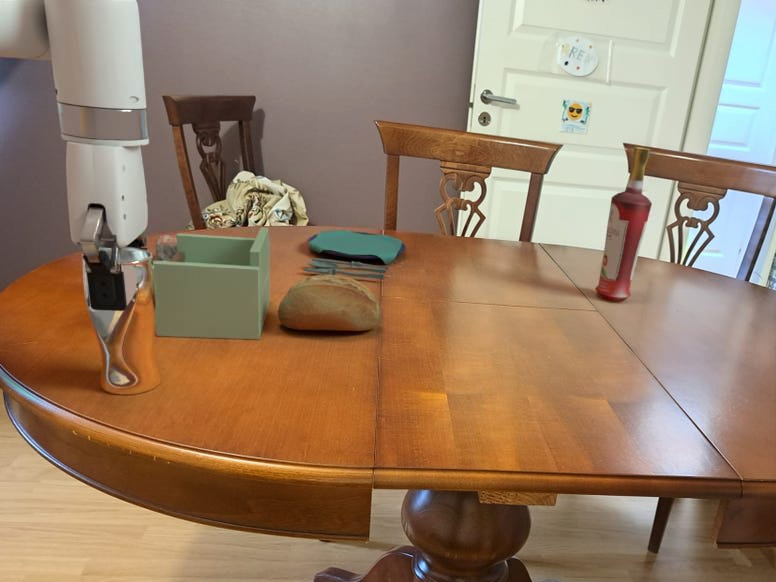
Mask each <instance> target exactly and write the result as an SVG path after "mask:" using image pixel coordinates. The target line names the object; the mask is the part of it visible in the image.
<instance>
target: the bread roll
mask: <svg viewBox="0 0 776 582" xmlns="http://www.w3.org/2000/svg"><path fill="white" fill-rule="evenodd" d="M277 316H278V320H279V322H280V323H281V324H282V325H283V326H285V327H286V328H287V329H292V330H296V331H297V330H298V331H346V332H347V331H351V332H363V331H365V332H366V331H370V330H373V329H375V328H378V326H380V325H381V323H382V321H383V319H384V311H383V308H382V305H381V302H380V300H379V299H378V297H377V296H376V295H375V293H374V292H373V291H372V290H370V289H369V288H368V287H367V286H366V285H364V284H363V283H362V282H360V281H358V280H356V279H354V278H352V277H349V276H344V275H337V274H336V275H328V274H318V275H312V276H311V275H310V276H308V277H306V278H304V279H302V280H300V281H297V282H296V283H295V284H293V285H292V286H291V287H290V288H289V289H288V290H287V292H286V293H285V295H284V297H283V298H282V299H281V301H280V303H279V305H278V310H277Z"/></svg>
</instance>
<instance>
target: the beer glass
mask: <svg viewBox="0 0 776 582" xmlns="http://www.w3.org/2000/svg"><path fill="white" fill-rule="evenodd" d="M141 248H142V247H141ZM141 248H135V247H124V248H121V258H120V268H119V271H120V272H124V281H125V291H126V301H127V308H126V309H125V310H124V311H110V310H94V309H92V308H91V305H90V297H89V289H88V281H87V273H86V271H85V260H84V259H83V255H84V254H83V253H82V254H81V259H82V285H83V294H84V295H83V296H84V300H85V307H86V309H87V314H88V317H89V321H90V324H91V327H92V330H93V333H94V335H95V338H96V341H97V344H98V347H99V350H100V356H101V373H100V382H99V383H100V388H101V389H102V390H103V391H105V392H107V393H110V394H113V395H122V396H124V395H125V396H127V395H136V394H137V395H138V394H142V393H145V392H148V391H151V390H153V389H155V388H156V387H158V386H159V385H160V383H161V380H162V378H161V374H160V373H161V372H160V370H159V367H158V364H157V360H156V356H155V355H156V353H155V342H156V334H157V333H156V325H157V316H158V288H157V280H156V274H155V268H154V263H153V261H154V255H153V252H151V251H150V250H148V249H147V250H145V249H141ZM101 251H106V253H107V254H108V256H109V258H110V260H111V251H112V250H101Z"/></svg>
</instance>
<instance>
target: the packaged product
mask: <svg viewBox="0 0 776 582" xmlns="http://www.w3.org/2000/svg"><path fill="white" fill-rule="evenodd" d="M154 247H155V260H154V261H166V262H169V261H170V260H171V259H172V258H173V256H174V255H175V254H176V253H177V238H176V235H169V234H168V235H167V234H165V235H159V236H158V239H157V240H156V241H155V246H154Z"/></svg>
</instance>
